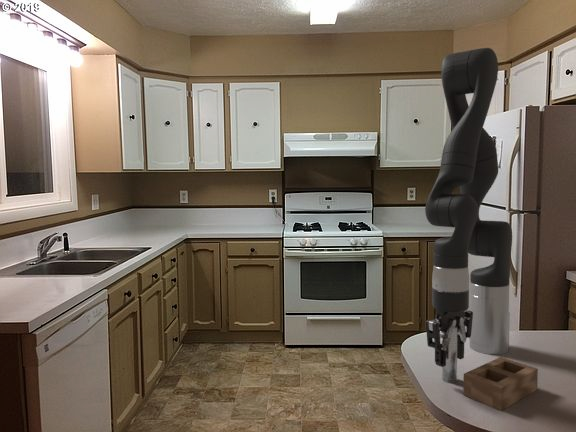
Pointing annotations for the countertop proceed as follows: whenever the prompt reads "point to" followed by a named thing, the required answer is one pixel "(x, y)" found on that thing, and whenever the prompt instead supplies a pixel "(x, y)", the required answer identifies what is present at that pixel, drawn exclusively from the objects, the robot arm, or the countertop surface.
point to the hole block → (500, 382)
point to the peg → (451, 359)
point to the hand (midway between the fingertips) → (449, 361)
